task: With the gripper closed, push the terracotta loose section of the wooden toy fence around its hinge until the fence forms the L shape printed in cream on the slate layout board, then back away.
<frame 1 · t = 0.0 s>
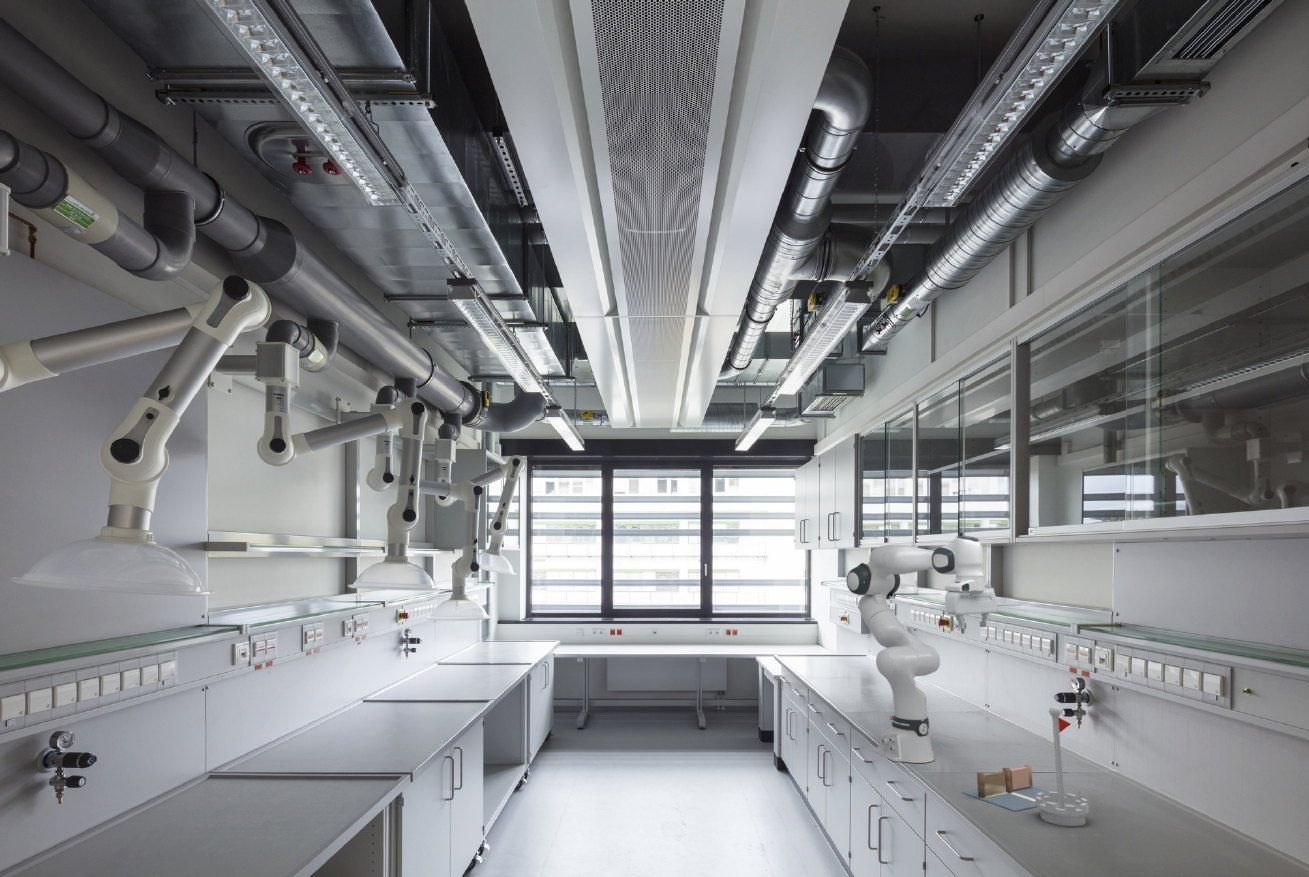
hand: (973, 627, 258), 48 cm above the table, tool pointing down, fingers open, 8 cm apart
flag stand: (1062, 819, 216), on the table
layout board: (1015, 796, 236), on the table
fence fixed: (1008, 792, 239), resting on layout board
fence section: (1020, 776, 242), point 4 cm above the table, hinge at 0.0°
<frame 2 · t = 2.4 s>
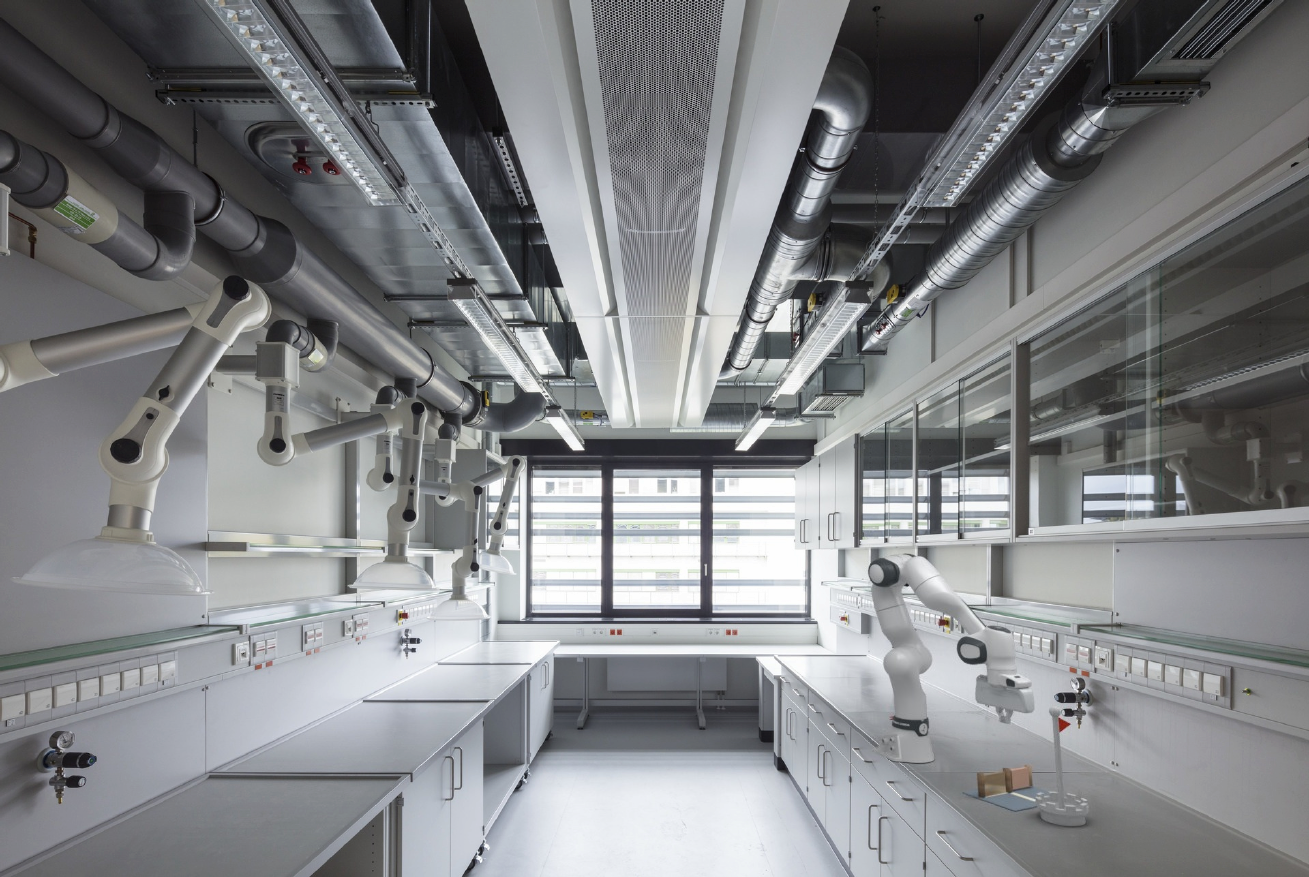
hand: (1005, 722, 250), 19 cm above the table, tool pointing down, fingers closed
nothing on the table moved.
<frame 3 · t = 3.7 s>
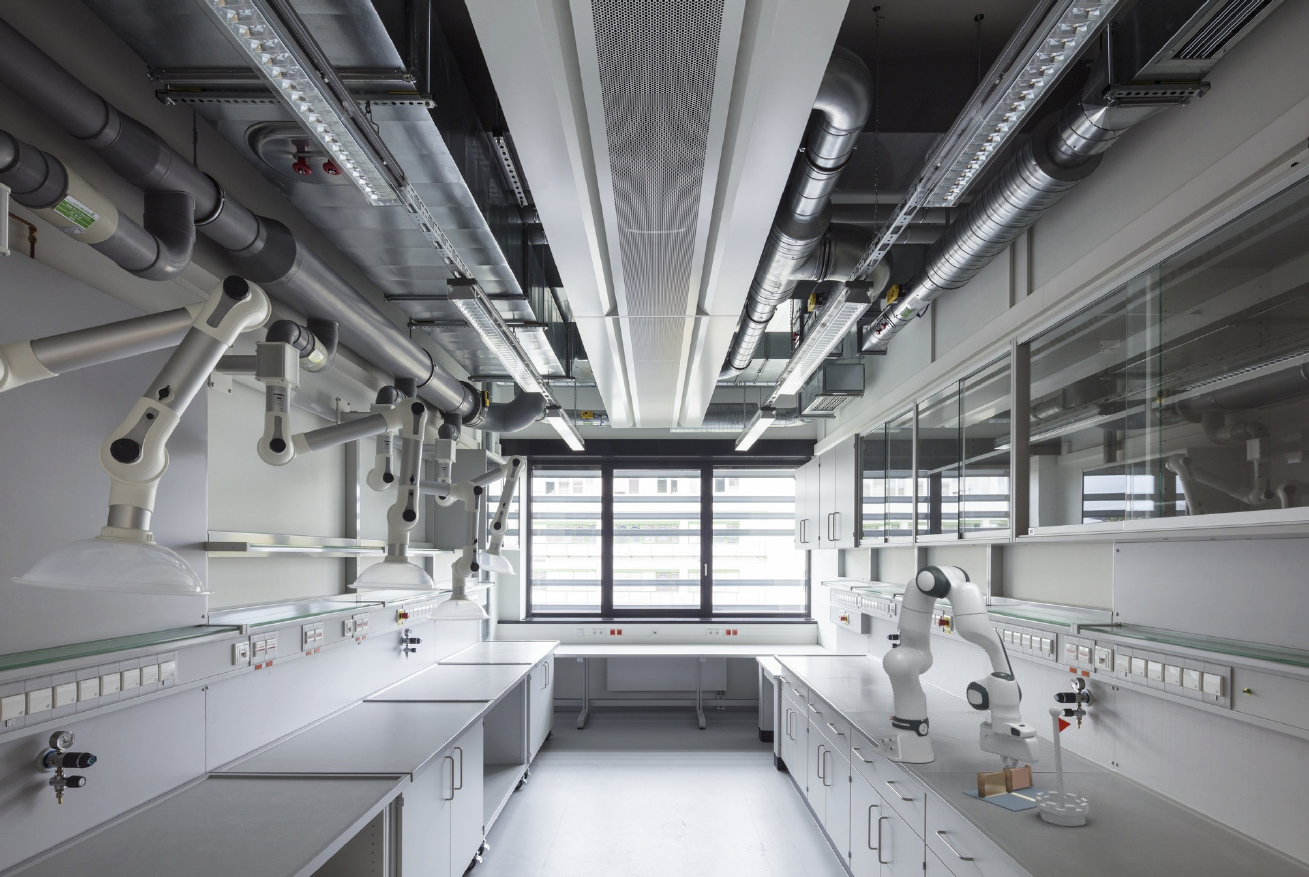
hand: (1010, 771, 247), 4 cm above the table, tool pointing down, fingers closed
nothing on the table moved.
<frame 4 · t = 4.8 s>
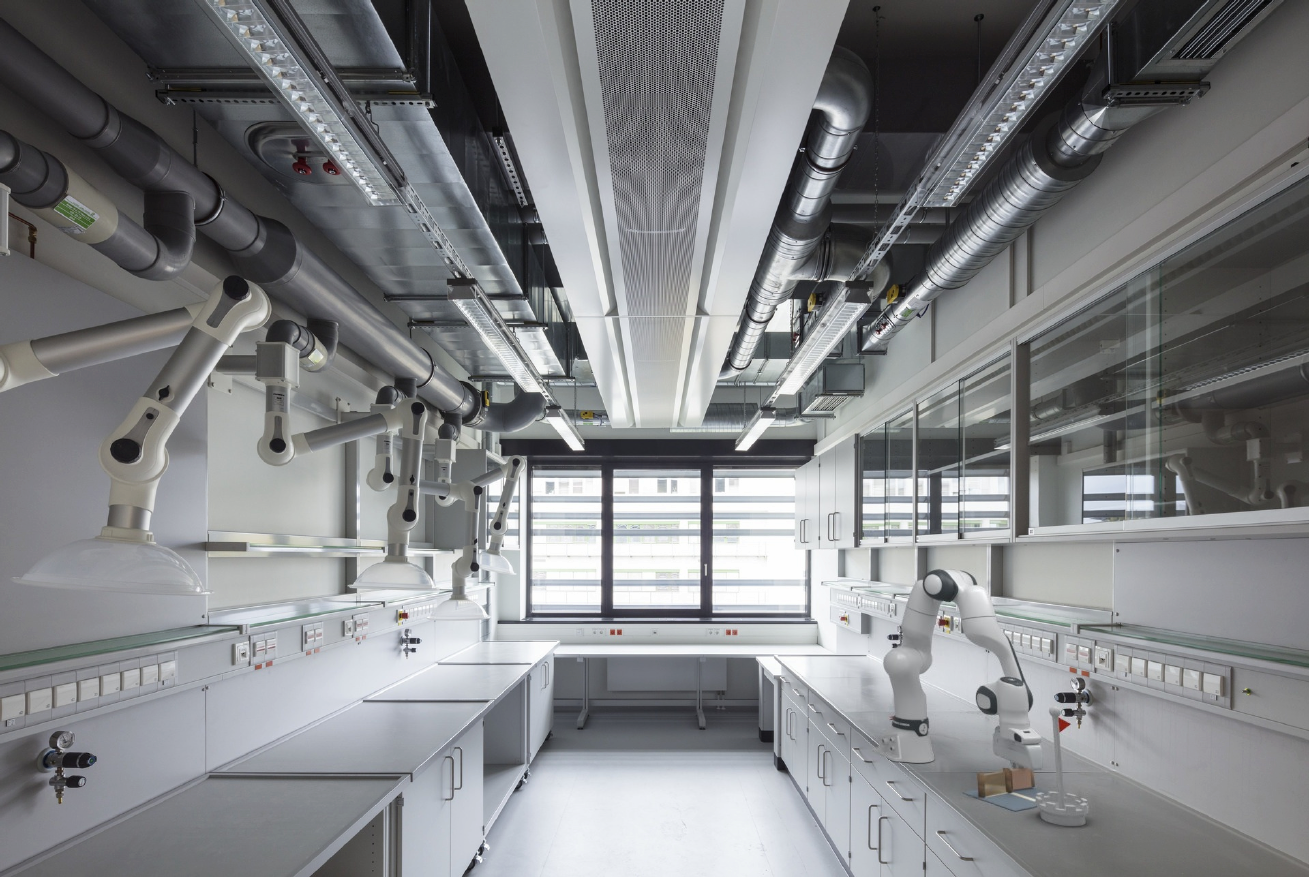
hand: (1018, 777, 244), 3 cm above the table, tool pointing down, fingers closed
fence section: (1022, 777, 242), point 4 cm above the table, hinge at 5.1°, touching gripper
everything else where it was.
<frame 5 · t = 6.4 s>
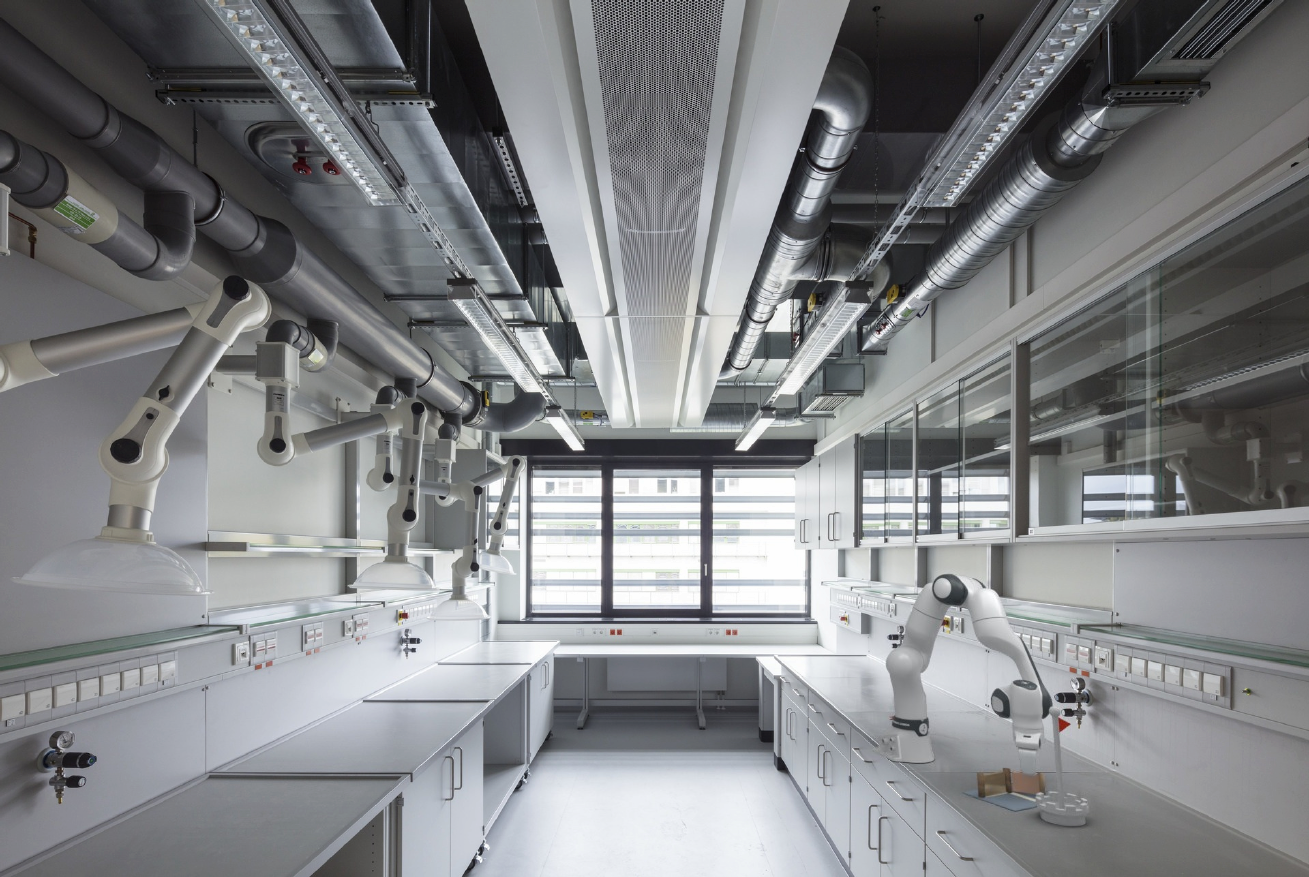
hand: (1031, 782, 238), 3 cm above the table, tool pointing down, fingers closed
fence section: (1028, 782, 237), point 4 cm above the table, hinge at 54.1°, touching gripper
everything else where it was.
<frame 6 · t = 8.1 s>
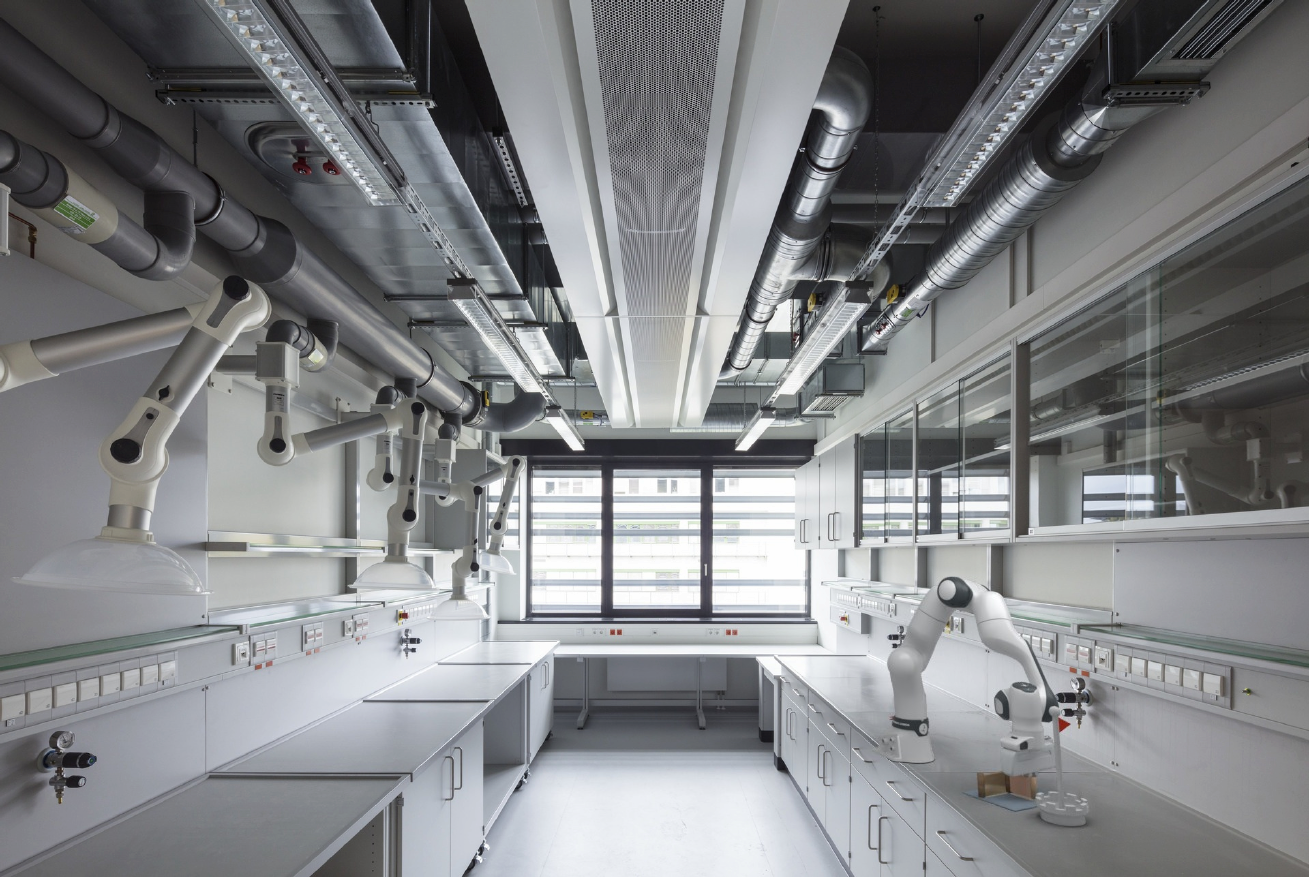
hand: (1031, 786, 235), 3 cm above the table, tool pointing down, fingers closed
fence section: (1023, 784, 234), point 4 cm above the table, hinge at 90.7°, touching gripper
everything else where it was.
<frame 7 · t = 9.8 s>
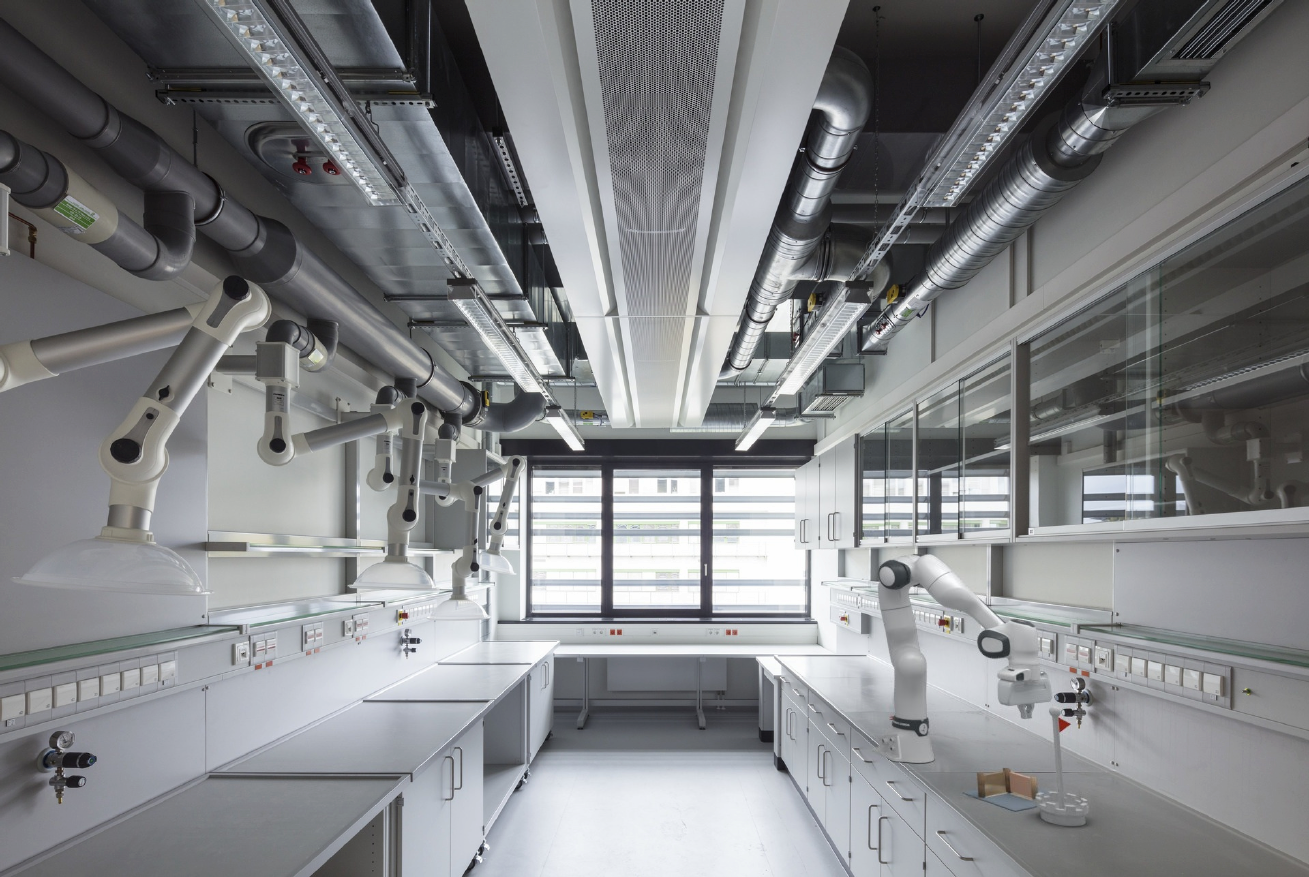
hand: (1026, 718, 244), 21 cm above the table, tool pointing down, fingers closed
fence section: (1023, 784, 234), point 4 cm above the table, hinge at 89.4°
everything else where it was.
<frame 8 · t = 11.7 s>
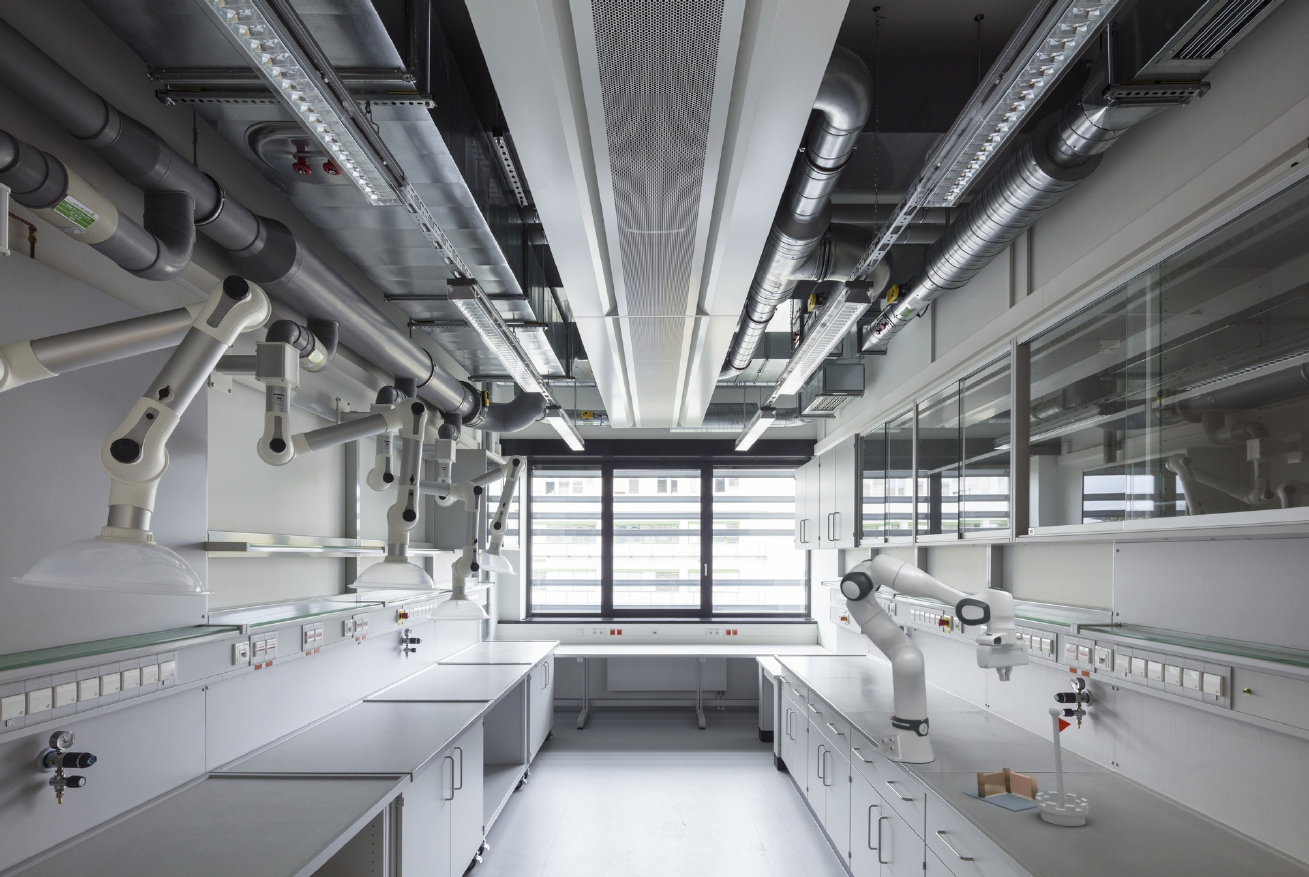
hand: (1004, 680, 255), 31 cm above the table, tool pointing down, fingers closed
nothing on the table moved.
at the end: fence section at +89° (first picture: +0°) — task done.
